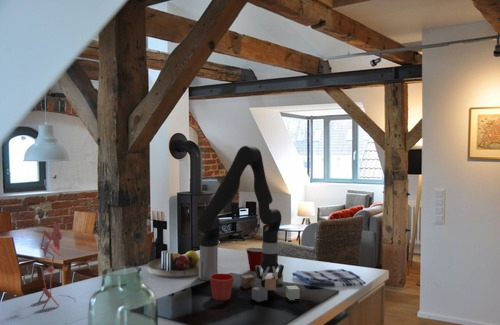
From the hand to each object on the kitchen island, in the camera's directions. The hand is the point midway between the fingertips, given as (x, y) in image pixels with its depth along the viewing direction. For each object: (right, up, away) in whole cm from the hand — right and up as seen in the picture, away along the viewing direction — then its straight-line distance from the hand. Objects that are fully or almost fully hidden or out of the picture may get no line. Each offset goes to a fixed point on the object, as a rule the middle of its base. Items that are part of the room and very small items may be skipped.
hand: (269, 286), depth 225 cm
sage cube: (+10, -3, -10) cm, 14 cm away
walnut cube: (-10, -2, +7) cm, 13 cm away
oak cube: (+5, -2, +14) cm, 15 cm away
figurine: (-92, -2, -20) cm, 94 cm away
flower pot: (-22, -2, -10) cm, 24 cm away
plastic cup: (-6, -1, +38) cm, 38 cm away
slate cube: (-5, -3, -12) cm, 13 cm away
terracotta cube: (0, -1, 0) cm, 1 cm away
